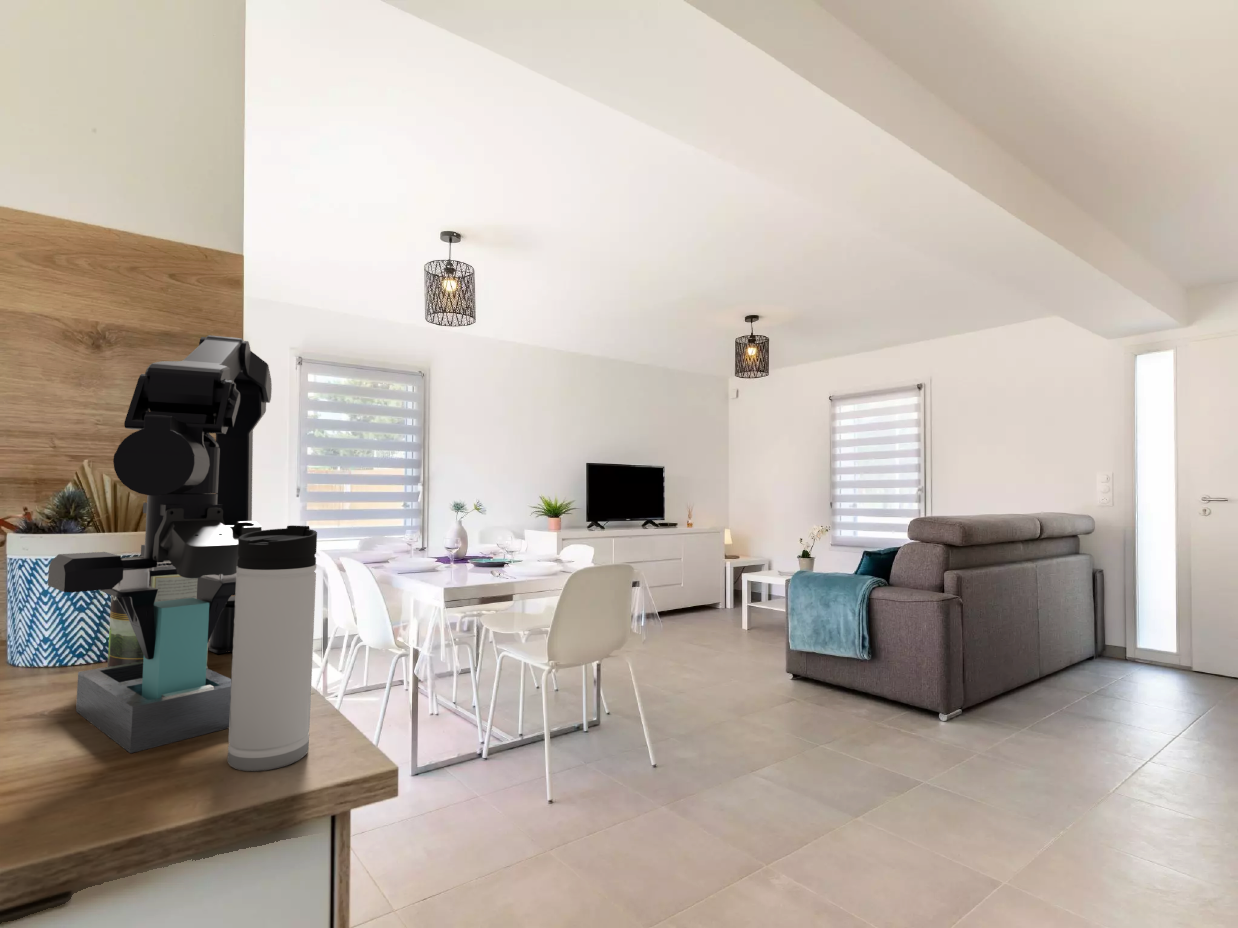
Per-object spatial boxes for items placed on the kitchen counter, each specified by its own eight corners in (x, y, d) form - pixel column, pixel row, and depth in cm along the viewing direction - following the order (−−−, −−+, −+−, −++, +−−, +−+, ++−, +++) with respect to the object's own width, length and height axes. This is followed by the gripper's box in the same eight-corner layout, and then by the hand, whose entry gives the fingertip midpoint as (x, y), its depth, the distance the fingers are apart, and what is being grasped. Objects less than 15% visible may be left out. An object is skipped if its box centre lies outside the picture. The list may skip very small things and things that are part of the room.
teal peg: (141, 707, 63) (146, 602, 63) (187, 697, 66) (192, 597, 66) (156, 717, 60) (161, 608, 61) (204, 706, 64) (209, 602, 64)
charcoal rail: (75, 711, 67) (78, 668, 67) (176, 690, 74) (178, 652, 74) (130, 753, 57) (132, 703, 57) (239, 724, 64) (241, 680, 64)
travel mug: (324, 743, 60) (333, 526, 61) (280, 774, 54) (291, 531, 54) (260, 739, 61) (270, 524, 62) (209, 769, 54) (221, 528, 55)
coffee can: (90, 690, 73) (97, 564, 74) (123, 666, 83) (129, 554, 83) (197, 683, 77) (203, 563, 77) (216, 660, 87) (222, 553, 87)
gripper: (89, 495, 52) (79, 695, 51) (318, 496, 67) (312, 651, 66) (51, 491, 58) (41, 668, 58) (266, 493, 73) (260, 633, 73)
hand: (175, 654), depth 63 cm, fingers closed on teal peg, 4 cm apart
